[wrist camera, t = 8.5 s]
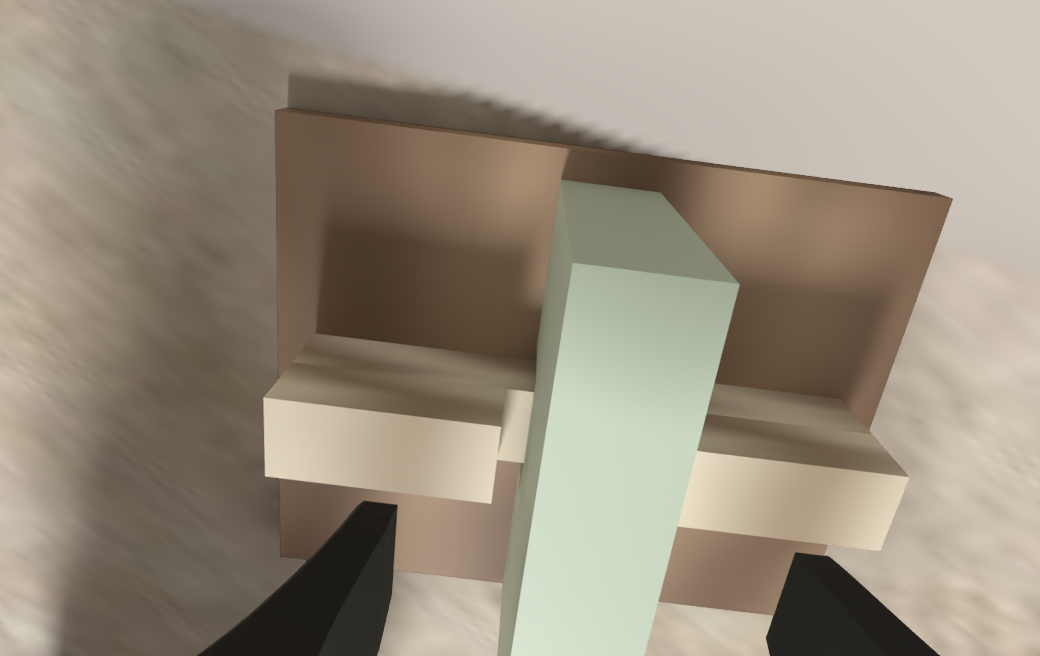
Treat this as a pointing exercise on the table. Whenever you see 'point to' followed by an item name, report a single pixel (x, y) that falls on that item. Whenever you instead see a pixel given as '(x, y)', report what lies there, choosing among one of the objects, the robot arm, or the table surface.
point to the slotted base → (514, 333)
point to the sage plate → (611, 421)
